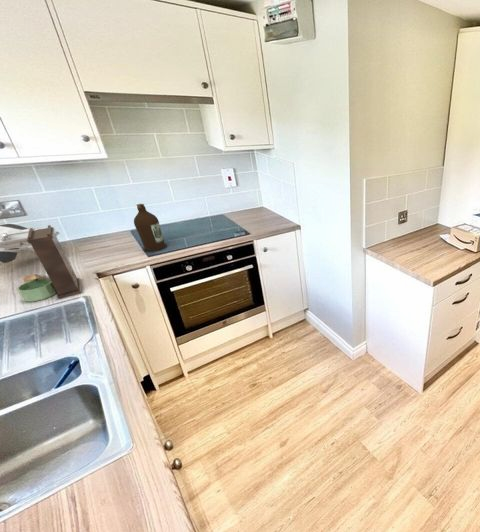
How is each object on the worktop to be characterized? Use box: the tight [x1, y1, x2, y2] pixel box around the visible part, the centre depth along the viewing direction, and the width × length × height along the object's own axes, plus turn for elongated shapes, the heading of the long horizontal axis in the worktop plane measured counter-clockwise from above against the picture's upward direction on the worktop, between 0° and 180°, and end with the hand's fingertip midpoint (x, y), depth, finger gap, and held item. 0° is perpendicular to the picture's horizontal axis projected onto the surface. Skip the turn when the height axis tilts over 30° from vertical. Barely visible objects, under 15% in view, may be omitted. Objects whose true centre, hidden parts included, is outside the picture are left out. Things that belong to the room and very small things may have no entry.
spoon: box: [21, 273, 47, 283], centre depth 138 cm, size 4×23×2 cm, turn 43°
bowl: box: [16, 277, 58, 302], centre depth 133 cm, size 10×10×6 cm
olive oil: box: [133, 203, 167, 252], centre depth 173 cm, size 11×11×25 cm
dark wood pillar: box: [27, 224, 82, 300], centre depth 133 cm, size 7×15×27 cm, turn 43°
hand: (20, 232), depth 140 cm, fingers open, 8 cm apart
